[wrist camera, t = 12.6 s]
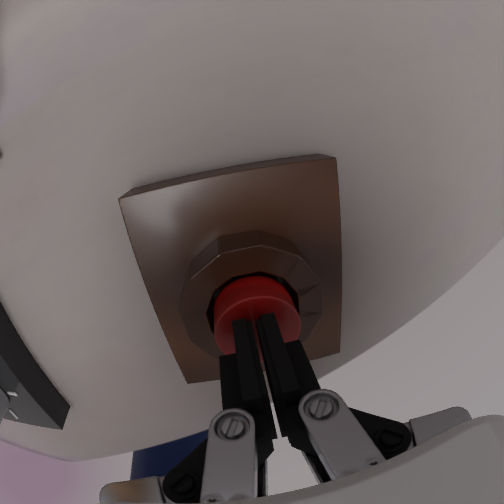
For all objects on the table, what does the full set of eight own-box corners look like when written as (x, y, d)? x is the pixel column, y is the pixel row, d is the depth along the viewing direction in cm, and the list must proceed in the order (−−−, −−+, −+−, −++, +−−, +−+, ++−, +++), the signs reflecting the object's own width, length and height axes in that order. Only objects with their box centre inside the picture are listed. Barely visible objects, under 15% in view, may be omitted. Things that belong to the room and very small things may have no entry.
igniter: (328, 332, 19) (350, 371, 15) (188, 360, 18) (186, 405, 15) (319, 153, 14) (354, 161, 10) (130, 189, 13) (103, 209, 10)
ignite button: (294, 330, 14) (303, 353, 12) (222, 345, 14) (224, 369, 12) (287, 267, 12) (298, 287, 11) (205, 283, 12) (204, 306, 10)
